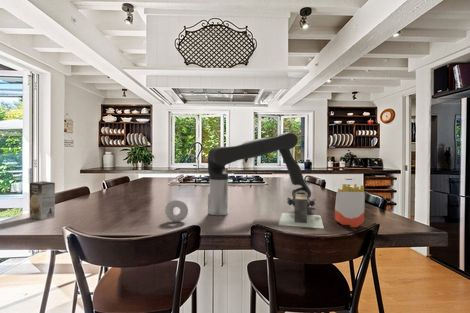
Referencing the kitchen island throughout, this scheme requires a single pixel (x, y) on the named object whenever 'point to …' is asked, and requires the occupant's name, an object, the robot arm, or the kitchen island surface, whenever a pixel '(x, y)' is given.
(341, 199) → the french fries container
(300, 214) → the maple block
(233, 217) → the kitchen island surface
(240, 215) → the kitchen island surface
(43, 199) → the coffee box
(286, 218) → the sage mat
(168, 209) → the donut
